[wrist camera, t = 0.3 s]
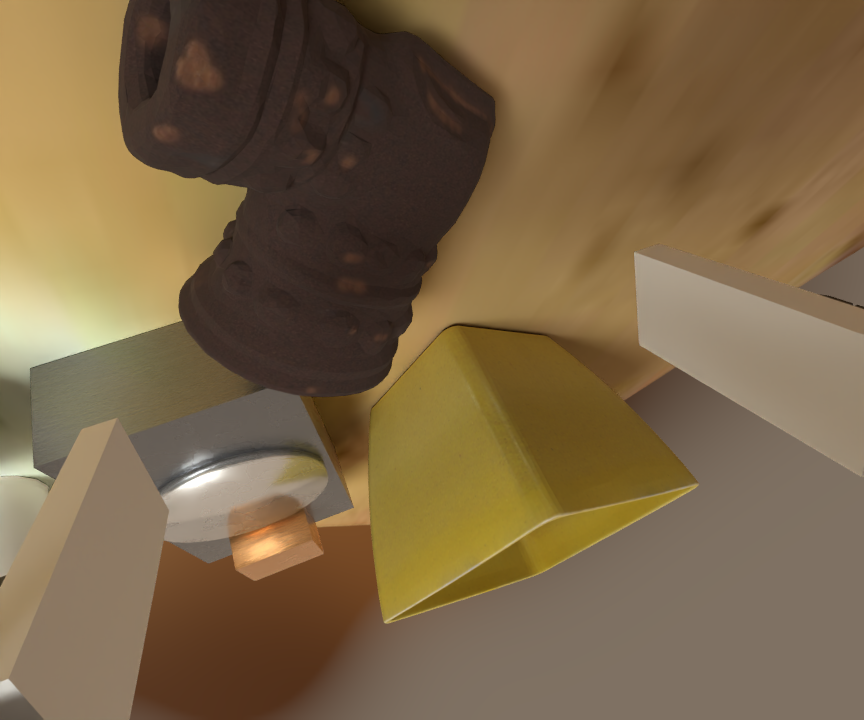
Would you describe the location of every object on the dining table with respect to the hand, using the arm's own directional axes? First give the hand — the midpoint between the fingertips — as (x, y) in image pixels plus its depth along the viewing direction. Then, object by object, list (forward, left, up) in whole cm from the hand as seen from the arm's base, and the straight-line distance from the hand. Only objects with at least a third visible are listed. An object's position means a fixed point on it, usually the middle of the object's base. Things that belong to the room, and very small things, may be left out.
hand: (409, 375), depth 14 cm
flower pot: (+32, +9, -16) cm, 37 cm away
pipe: (+5, 0, -16) cm, 17 cm away
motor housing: (+26, -10, -16) cm, 32 cm away
